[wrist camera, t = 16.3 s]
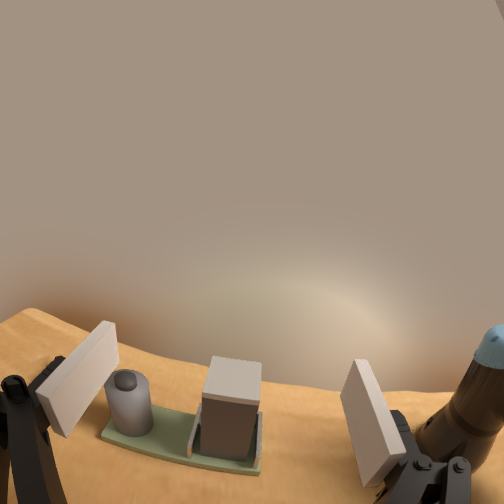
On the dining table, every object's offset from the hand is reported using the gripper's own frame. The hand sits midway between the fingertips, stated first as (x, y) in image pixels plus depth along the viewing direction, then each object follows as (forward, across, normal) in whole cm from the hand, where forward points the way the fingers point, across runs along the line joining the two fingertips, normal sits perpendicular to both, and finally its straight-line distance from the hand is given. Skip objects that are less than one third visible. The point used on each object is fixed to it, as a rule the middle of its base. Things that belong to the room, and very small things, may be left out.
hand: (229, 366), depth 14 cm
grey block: (+13, 0, -25) cm, 28 cm away
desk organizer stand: (+13, -6, -26) cm, 30 cm away
